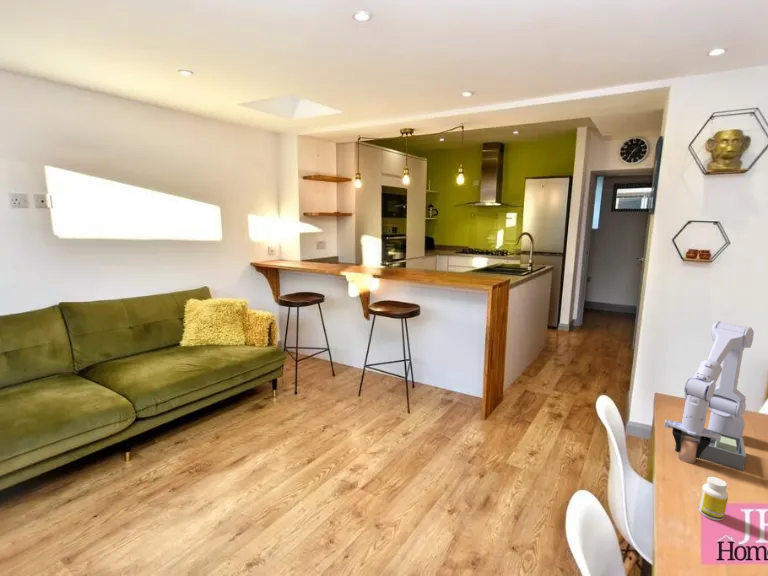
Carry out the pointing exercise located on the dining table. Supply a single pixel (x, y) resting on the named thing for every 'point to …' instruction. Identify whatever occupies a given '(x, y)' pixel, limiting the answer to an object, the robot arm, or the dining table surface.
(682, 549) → the dining table surface
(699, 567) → the dining table surface
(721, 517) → the supplement bottle
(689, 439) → the terracotta cylinder
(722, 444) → the green block
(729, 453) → the tote
